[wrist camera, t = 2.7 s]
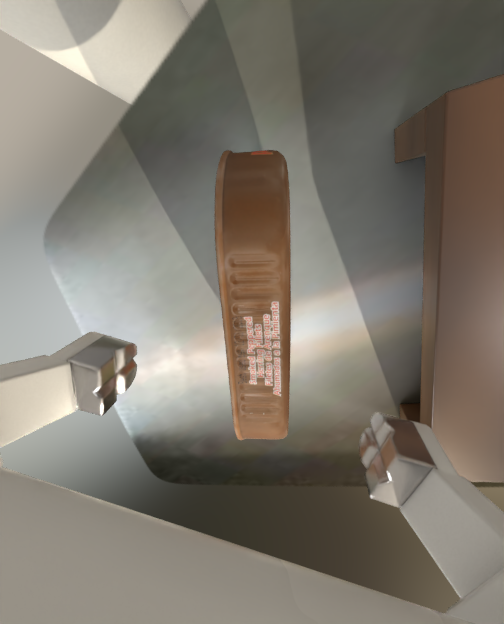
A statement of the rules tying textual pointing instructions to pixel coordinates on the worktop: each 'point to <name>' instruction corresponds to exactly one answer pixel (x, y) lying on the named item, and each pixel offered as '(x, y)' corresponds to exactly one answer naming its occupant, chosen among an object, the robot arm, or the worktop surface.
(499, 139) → the shelf
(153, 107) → the worktop surface
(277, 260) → the tin
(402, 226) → the worktop surface
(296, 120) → the worktop surface
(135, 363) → the robot arm
